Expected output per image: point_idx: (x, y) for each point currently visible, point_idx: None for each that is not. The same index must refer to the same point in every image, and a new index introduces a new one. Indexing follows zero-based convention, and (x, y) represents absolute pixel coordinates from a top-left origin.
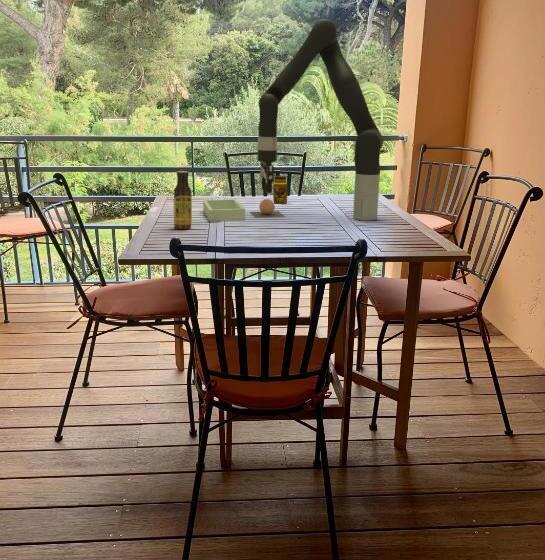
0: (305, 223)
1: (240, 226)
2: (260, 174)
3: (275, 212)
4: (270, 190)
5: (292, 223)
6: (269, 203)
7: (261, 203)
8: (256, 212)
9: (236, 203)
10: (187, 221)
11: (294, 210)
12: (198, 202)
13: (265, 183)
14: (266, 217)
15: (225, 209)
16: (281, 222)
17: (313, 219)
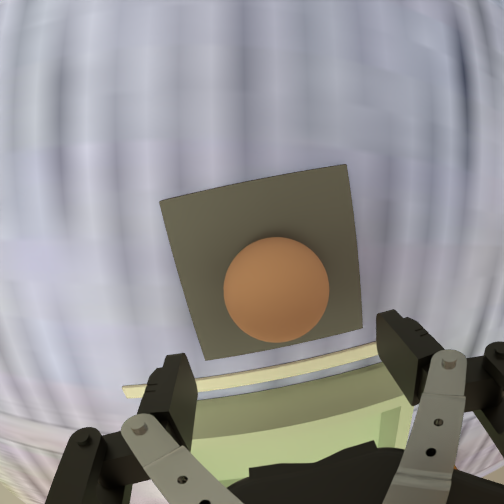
0: (463, 89)
1: (469, 355)
2: (109, 492)
3: (213, 220)
4: (416, 328)
5: (465, 148)
6: (325, 285)
7: (302, 335)
8: (219, 327)
9: (250, 441)
10: (457, 469)
11: (111, 102)
12: (53, 473)
13: (183, 402)
14: (358, 273)
15: (401, 447)
16: (447, 198)
17: (380, 24)
